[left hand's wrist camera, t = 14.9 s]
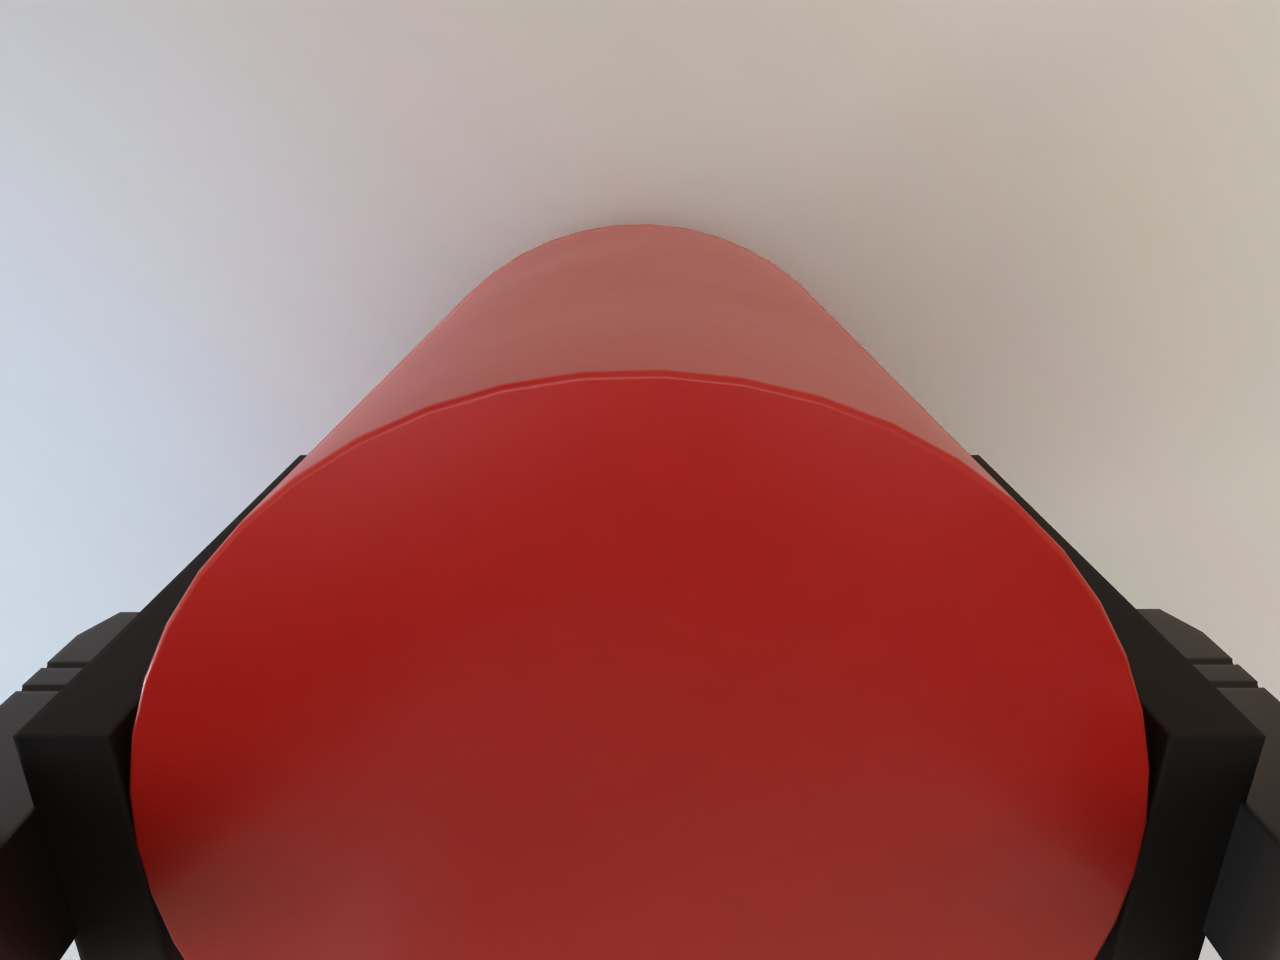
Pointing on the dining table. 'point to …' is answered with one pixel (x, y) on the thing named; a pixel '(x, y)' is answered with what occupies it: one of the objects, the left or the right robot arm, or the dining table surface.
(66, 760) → the left robot arm
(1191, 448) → the dining table surface
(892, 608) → the cylinder
